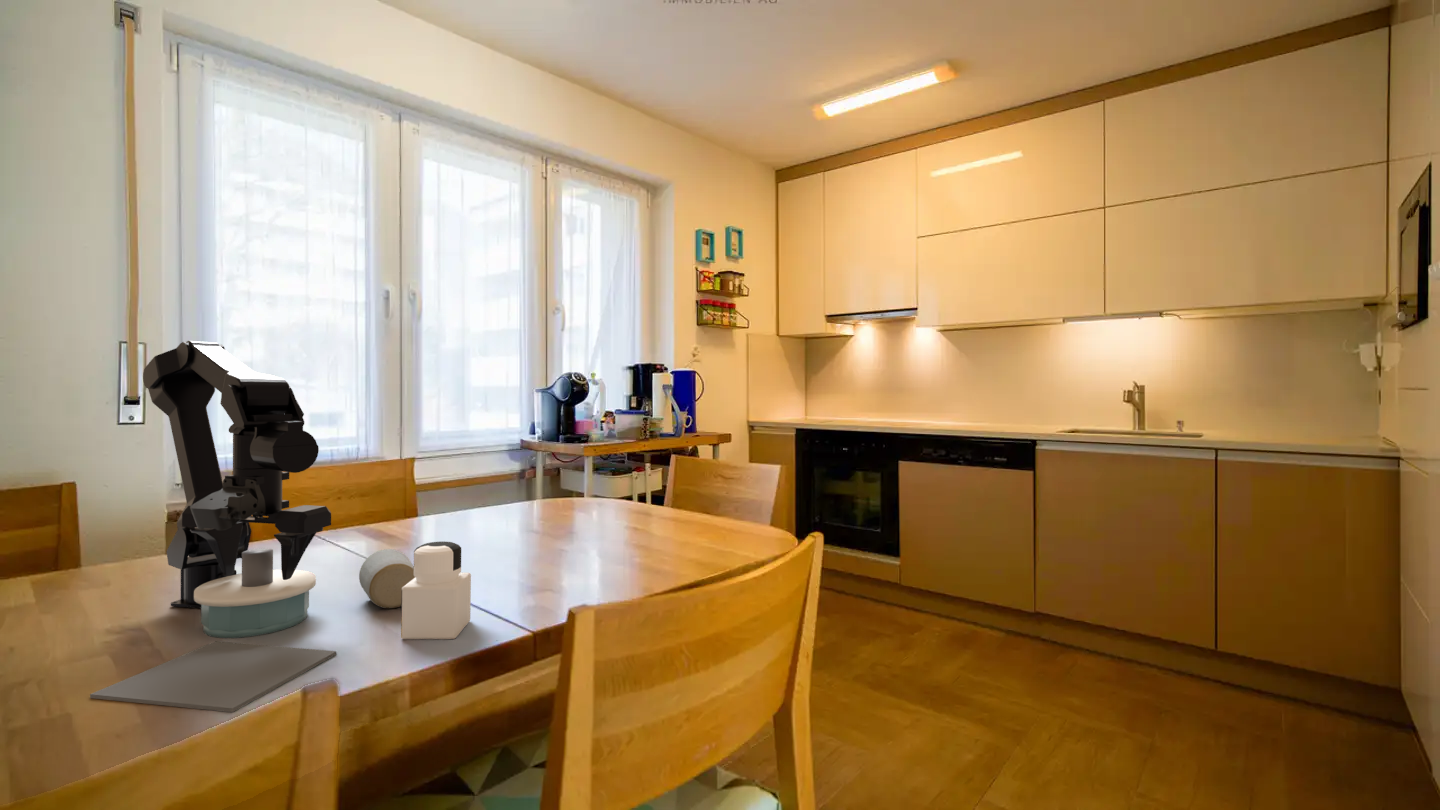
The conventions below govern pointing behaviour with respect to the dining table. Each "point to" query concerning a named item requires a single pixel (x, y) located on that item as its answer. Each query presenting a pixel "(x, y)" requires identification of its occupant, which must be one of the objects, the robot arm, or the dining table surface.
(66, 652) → the dining table surface
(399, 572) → the ceramic mug
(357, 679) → the dining table surface
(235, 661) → the mat
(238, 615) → the bowl
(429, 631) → the medicine bottle
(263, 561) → the lid
